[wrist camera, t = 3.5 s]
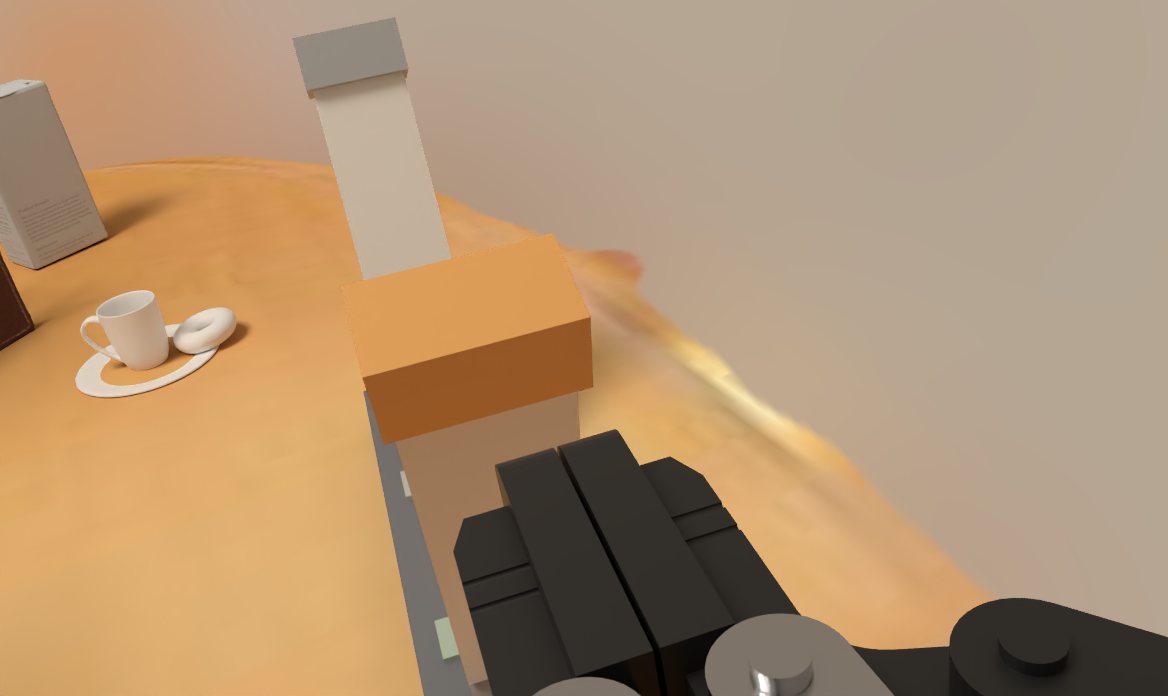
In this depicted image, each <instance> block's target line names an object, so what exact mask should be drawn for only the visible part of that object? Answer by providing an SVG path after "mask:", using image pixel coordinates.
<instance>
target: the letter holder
mask: <svg viewBox="0 0 1168 696" xmlns="http://www.w3.org/2000/svg"><path fill="white" fill-rule="evenodd" d="M33 330H34V324H33V321H32V319H31V316H30V314H29V313H28V311H27V309H26V307H25V305H24V303H23V301H22V299H21V297H20V295H19V293H18V290H17V288H16V286H15V284H14V282H13V280H12V277H11V275H10V273H9V270H8V268H7V266H6V264H5V262H4V261H3V258H2V256H1V253H0V350H2V349H3V348H5V347H6V346H8V345H10V344H11V343H13V342H15V341H16V340H18V339H19V338H21V337H23V336H24V335H26V334H28V333H29V332H31V331H33Z"/></svg>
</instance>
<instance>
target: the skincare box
mask: <svg viewBox="0 0 1168 696" xmlns="http://www.w3.org/2000/svg"><path fill="white" fill-rule="evenodd" d="M107 237H108V234H107V232H106V229H105V227H104V225H103V222H102V220H101V217H100V215H99V212H98V210H97V207H96V205H95V203H94V200H93V198H92V195H91V193H90V190H89V188H88V185H87V183H86V181H85V178H84V176H83V173H82V171H81V169H80V166H79V164H78V161H77V159H76V156H75V154H74V152H73V149H72V147H71V144H70V142H69V139H68V137H67V134H66V132H65V130H64V127H63V125H62V123H61V120H60V118H59V115H58V113H57V111H56V108H55V106H54V104H53V101H52V99H51V96H50V94H49V91H48V88H47V86H46V84H45V83H44V82H43V81H36V80H15V81H12V82H9V83H5V84H2V85H0V241H1V243H2V245H3V247H4V249H5V252H6V254H7V256H8V258H9V260H11V261H12V262H14V263H16V264H19V265H22V266H24V267H27V268H31V269H38V268H41V267H43V266H45V265H48V264H50V263H52V262H54V261H56V260H59V259H61V258H63V257H65V256H67V255H70V254H72V253H74V252H76V251H78V250H81V249H83V248H85V247H87V246H89V245H92V244H94V243H96V242H98V241H100V240H102V239H105V238H107Z"/></svg>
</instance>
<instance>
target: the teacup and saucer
mask: <svg viewBox="0 0 1168 696" xmlns="http://www.w3.org/2000/svg"><path fill="white" fill-rule="evenodd" d="M96 314H97V316H91V317H88V318H87V319H86V320H85V321H84V322H83V324H82V326H81V330H80V332H81V335H82V337H83V338H84V340H85V341H86V342H87V343H88V344H89V345H90V346H91V347H92V348H94V349H95V350H96V351H98V353H96V354H95V355H94V356H92V357H91V358H90V359H89V360H88V361H87V362H86V363H85V364H84V365H83V366H82V367H81V368H80V370H79V371H78V373H77V375H76V380H75V382H76V386H77V388H78V389H79V390H80V391H81V392H83V393H85V394H87V395H90V396H95V397H122V396H129V395H134V394H139V393H143V392H147V391H150V390H153V389H156V388H159V387H162V386H165V385H167V384H170V383H172V382H174V381H176V380H179V379H181V378H183V377H185V376H186V375H188V374H190V373H192V372H193V371H195V370H196V369H198V368H199V367H201V366H202V365H203V364H205V363H206V362H207V361H208V360H209V359H210V358H211V357H212V356H213V355H214V354H215V352H216V351H217V349H218V347H219V345H220V344H221V343H222V342H224V341H225V340H226V339H227V338H229V337H230V336H231V334H232V333H233V332H234V330H235V328H236V316H235V314H234V313H233V312H232V311H231V310H230V309H227V308H223V307H217V308H212V309H208V310H204V311H202V312H199V313H197V314H195V315H193V316H192V317H190V318H189V319H187V320H186V321H184V322H183V323H182V324H174V325H167V326H165V325H164V322H163V319H162V315H161V312H160V309H159V306H158V303H157V300H156V297H155V295H154V293H153V292H150V291H133V292H128V293H124V294H121V295H118V296H116V297H113V298H111V299H109V300H107V301H106V302H104V303H103V304H101V305H100V306H99V307H98V308H97V310H96ZM88 323H97V324H100V325H102V327H103V329H104V331H105V333H106V335H107V337H108V339H109V341H110V342H111V345H109V346H108V347H106V348H104V349H103V348H102V347H100V346H99V345H97V344H96V343H95V342H94V341H93V340H92V339H91V338H90V337H89V336H88V335H87V333H86V332H85V326H86V325H87V324H88ZM168 337H173V342H174V345H175V347H176V348H178V349H179V350H180V351H181V352H184V353H187V354H196V355H195V356H194V357H193V358H192V359H191V360H190V361H189V362H188V363H187V364H185V365H184V366H183V367H181V368H179V369H178V370H176V371H174V372H172V373H170V374H168V375H166V376H164V377H161V378H158V379H156V380H153V381H149V382H146V383H141V384H136V385H129V386H114V385H109V384H107V383H105V382H103V381H102V380H101V377H100V373H101V370H102V369H103V367H104V366H105V365H106V364H107V363H108V362H109V361H110V360H111V359H114V360H117V361H120V362H123V363H125V364H126V365H127V366H128V367H129V368H130V369H132V370H134V371H143V370H148V369H151V368H154V367H156V366H158V365H160V364H162V363H163V362H164V361H165V360H166V359H167V358H168V353H169V343H168Z"/></svg>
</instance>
